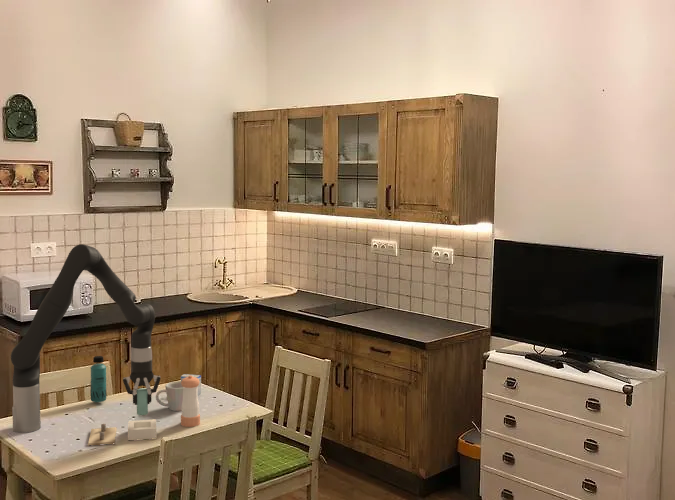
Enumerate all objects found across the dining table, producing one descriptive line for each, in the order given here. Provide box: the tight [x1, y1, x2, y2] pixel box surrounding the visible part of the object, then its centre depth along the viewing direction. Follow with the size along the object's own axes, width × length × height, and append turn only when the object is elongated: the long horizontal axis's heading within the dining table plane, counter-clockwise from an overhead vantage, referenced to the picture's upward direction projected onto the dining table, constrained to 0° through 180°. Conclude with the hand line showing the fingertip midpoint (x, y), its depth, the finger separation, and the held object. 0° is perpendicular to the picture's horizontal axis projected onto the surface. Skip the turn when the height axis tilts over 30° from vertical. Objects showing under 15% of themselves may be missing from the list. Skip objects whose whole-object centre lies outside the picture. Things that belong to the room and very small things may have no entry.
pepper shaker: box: [180, 374, 201, 428], centre depth 288 cm, size 7×7×19 cm
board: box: [87, 423, 117, 447], centre depth 272 cm, size 9×15×4 cm, turn 14°
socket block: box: [127, 418, 157, 441], centre depth 276 cm, size 10×10×4 cm
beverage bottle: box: [89, 355, 108, 403], centre depth 310 cm, size 6×7×20 cm
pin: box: [136, 387, 149, 416], centre depth 275 cm, size 4×4×9 cm
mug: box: [155, 380, 183, 412], centre depth 305 cm, size 10×15×10 cm
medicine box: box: [180, 373, 202, 397], centre depth 325 cm, size 8×4×9 cm, turn 81°
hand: (142, 403), depth 275 cm, fingers closed on pin, 4 cm apart
